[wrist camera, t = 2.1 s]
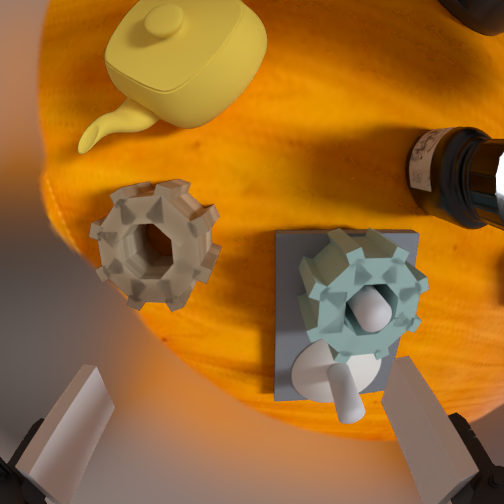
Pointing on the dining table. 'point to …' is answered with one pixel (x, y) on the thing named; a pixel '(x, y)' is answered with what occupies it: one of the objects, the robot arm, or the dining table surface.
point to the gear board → (342, 312)
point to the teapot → (179, 64)
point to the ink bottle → (458, 176)
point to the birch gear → (144, 255)
